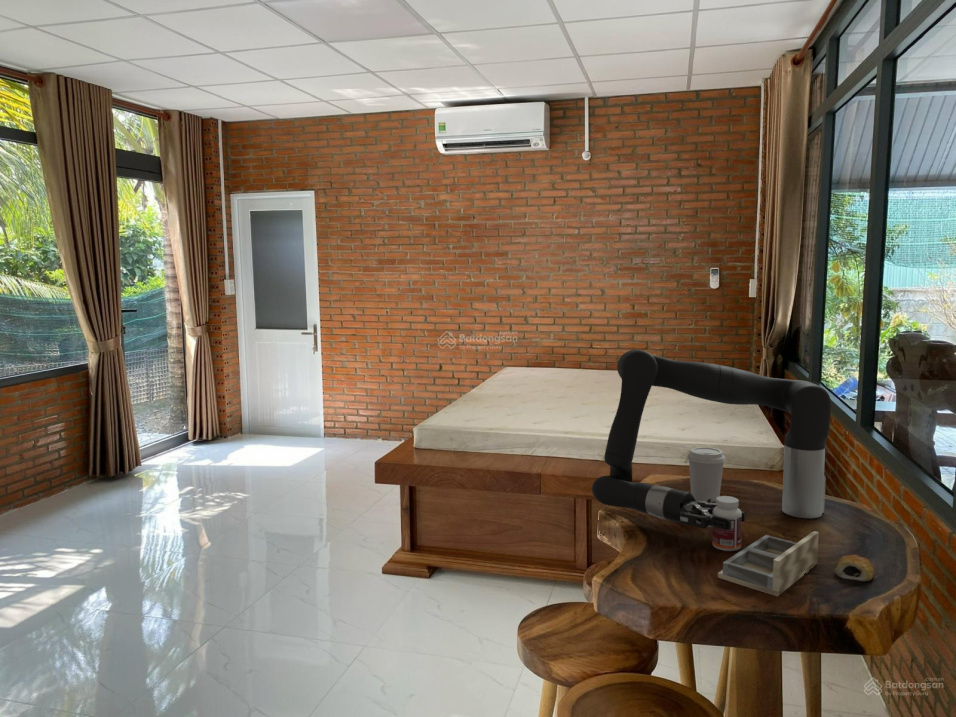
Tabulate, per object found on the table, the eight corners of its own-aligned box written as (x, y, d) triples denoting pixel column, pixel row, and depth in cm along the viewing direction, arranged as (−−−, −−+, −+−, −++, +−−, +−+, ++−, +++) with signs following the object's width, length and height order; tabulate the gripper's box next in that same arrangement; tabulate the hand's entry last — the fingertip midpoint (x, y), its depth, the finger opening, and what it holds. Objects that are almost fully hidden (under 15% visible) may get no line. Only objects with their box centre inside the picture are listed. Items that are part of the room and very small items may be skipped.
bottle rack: (760, 548, 156) (761, 518, 155) (817, 564, 148) (818, 532, 147) (717, 577, 142) (718, 544, 142) (777, 596, 134) (778, 561, 133)
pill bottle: (728, 539, 162) (729, 493, 160) (747, 549, 156) (748, 501, 155) (705, 543, 160) (707, 496, 158) (724, 554, 154) (725, 505, 153)
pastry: (841, 561, 150) (842, 544, 149) (877, 569, 146) (878, 551, 145) (833, 577, 142) (834, 559, 142) (871, 586, 138) (872, 567, 138)
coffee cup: (679, 508, 183) (680, 451, 181) (695, 498, 190) (696, 444, 189) (715, 516, 177) (717, 457, 175) (730, 505, 184) (731, 449, 182)
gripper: (653, 496, 162) (722, 513, 150) (685, 481, 172) (752, 496, 160) (653, 527, 163) (721, 547, 151) (684, 511, 173) (751, 528, 161)
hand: (737, 521), depth 155 cm, fingers closed on pill bottle, 6 cm apart
